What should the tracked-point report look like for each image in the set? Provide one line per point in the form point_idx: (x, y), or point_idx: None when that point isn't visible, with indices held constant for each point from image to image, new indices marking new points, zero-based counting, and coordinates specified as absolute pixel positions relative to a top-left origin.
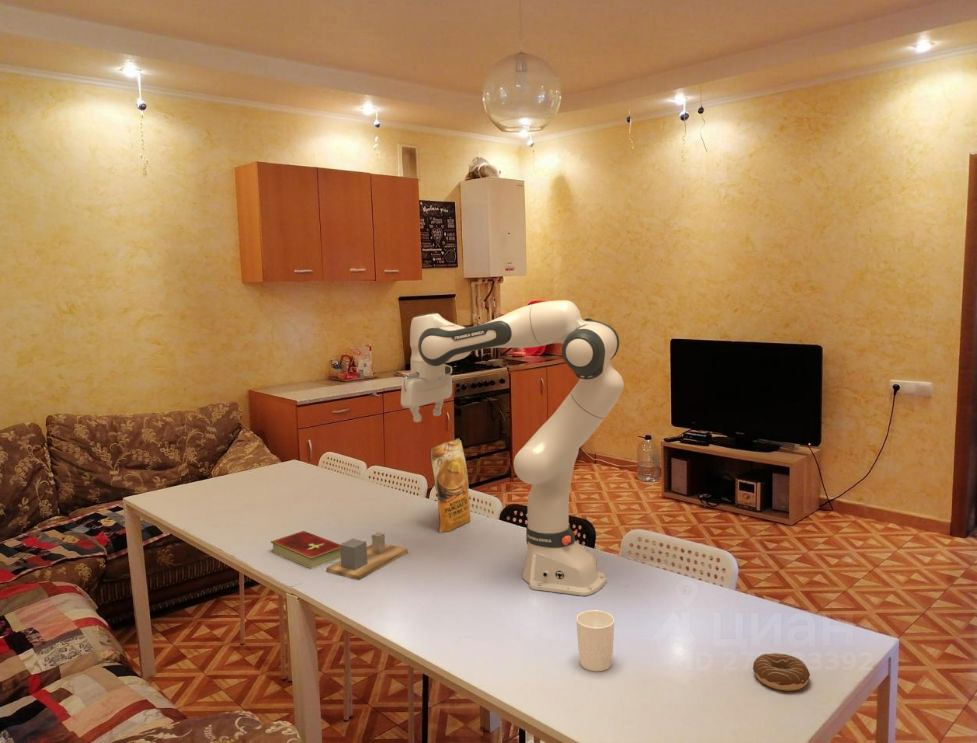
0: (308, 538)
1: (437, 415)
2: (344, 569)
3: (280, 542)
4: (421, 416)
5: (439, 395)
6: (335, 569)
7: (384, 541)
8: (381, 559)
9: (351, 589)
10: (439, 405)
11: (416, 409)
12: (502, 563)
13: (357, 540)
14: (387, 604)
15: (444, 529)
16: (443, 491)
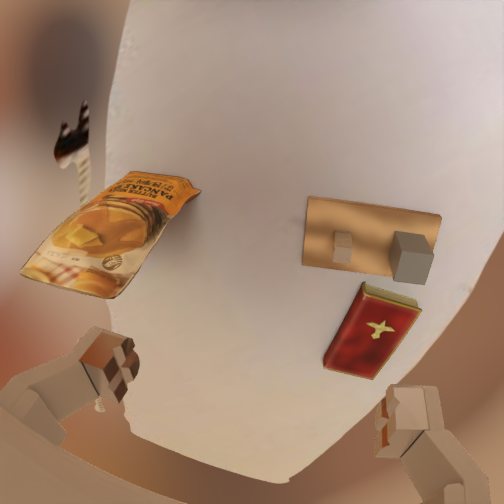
0: (350, 350)
1: (129, 340)
2: None
3: (373, 370)
4: (397, 417)
5: (14, 484)
6: None
7: (336, 239)
8: (370, 217)
9: (470, 208)
10: (54, 389)
11: (487, 489)
12: (274, 8)
13: (400, 268)
14: (498, 129)
15: (189, 187)
16: (151, 218)
